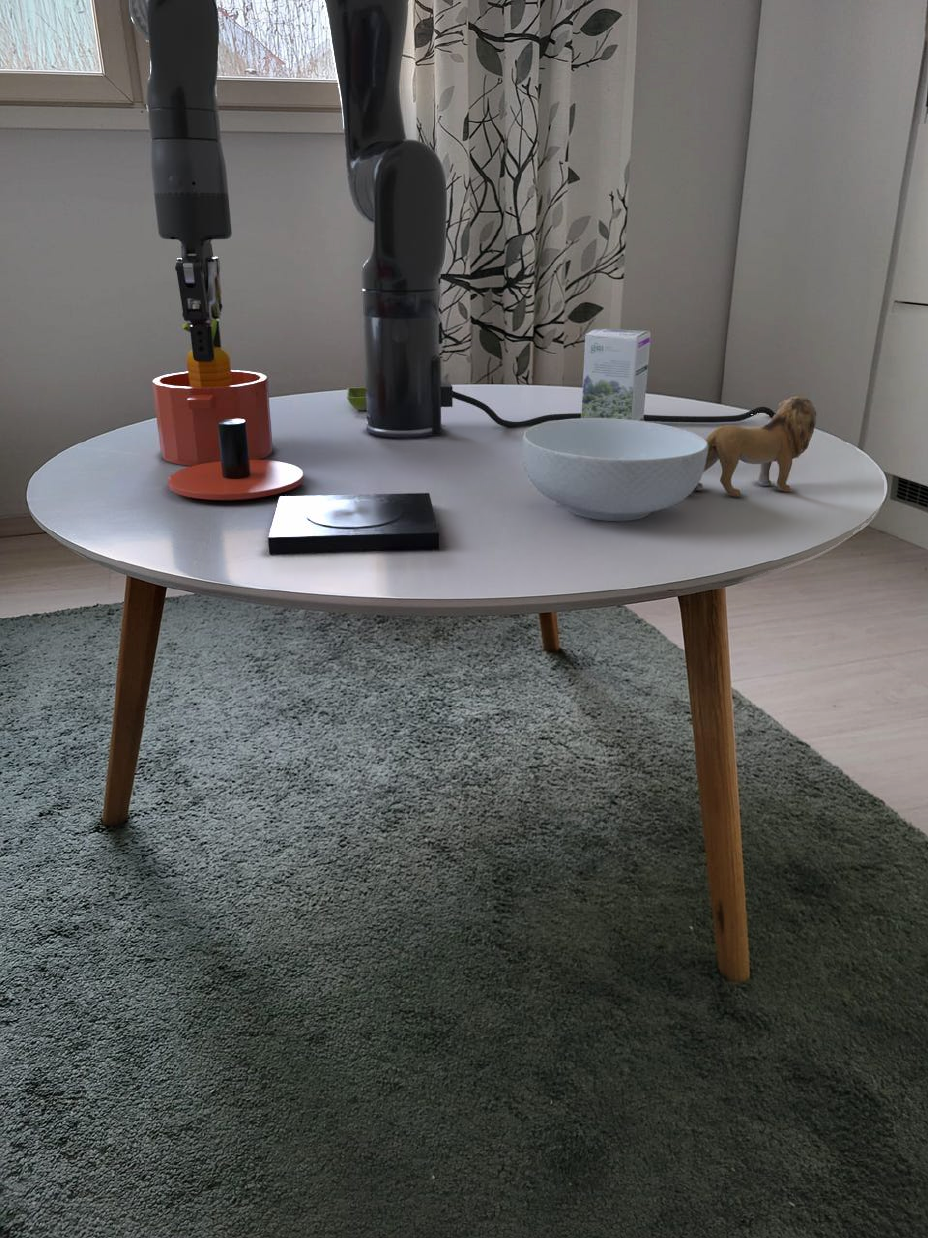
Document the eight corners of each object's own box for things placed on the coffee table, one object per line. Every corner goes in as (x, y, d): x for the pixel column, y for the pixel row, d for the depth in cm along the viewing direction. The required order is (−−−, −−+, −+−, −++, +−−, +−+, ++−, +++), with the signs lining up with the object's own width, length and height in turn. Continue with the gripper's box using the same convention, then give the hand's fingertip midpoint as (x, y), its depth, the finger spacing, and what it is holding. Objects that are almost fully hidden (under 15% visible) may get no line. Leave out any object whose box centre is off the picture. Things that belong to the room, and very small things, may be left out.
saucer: (347, 401, 138) (346, 386, 137) (406, 400, 139) (405, 386, 138) (347, 412, 130) (346, 397, 130) (409, 411, 131) (409, 396, 130)
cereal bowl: (575, 547, 78) (580, 464, 76) (491, 496, 92) (492, 425, 90) (738, 523, 85) (748, 446, 82) (636, 479, 99) (642, 412, 96)
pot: (278, 435, 117) (272, 365, 114) (265, 471, 101) (258, 391, 97) (177, 437, 116) (168, 367, 112) (147, 473, 100) (136, 393, 96)
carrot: (228, 454, 105) (214, 316, 99) (187, 452, 106) (171, 314, 100) (246, 444, 110) (234, 311, 104) (207, 442, 111) (193, 310, 105)
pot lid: (307, 469, 102) (303, 407, 99) (300, 504, 90) (295, 434, 87) (181, 471, 101) (174, 409, 98) (157, 507, 88) (148, 437, 86)
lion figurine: (782, 475, 100) (795, 390, 97) (819, 488, 96) (834, 399, 92) (672, 491, 94) (680, 401, 91) (706, 505, 90) (716, 411, 86)
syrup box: (641, 463, 105) (652, 329, 99) (627, 475, 100) (637, 335, 94) (593, 458, 107) (600, 326, 101) (576, 469, 102) (583, 332, 96)
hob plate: (429, 507, 89) (429, 491, 88) (439, 549, 78) (439, 531, 77) (280, 511, 87) (279, 495, 87) (269, 554, 76) (267, 536, 76)
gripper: (218, 188, 91) (234, 367, 98) (236, 191, 104) (249, 348, 111) (139, 187, 90) (161, 367, 97) (167, 190, 103) (184, 349, 110)
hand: (208, 356), depth 104 cm, fingers open, 5 cm apart
